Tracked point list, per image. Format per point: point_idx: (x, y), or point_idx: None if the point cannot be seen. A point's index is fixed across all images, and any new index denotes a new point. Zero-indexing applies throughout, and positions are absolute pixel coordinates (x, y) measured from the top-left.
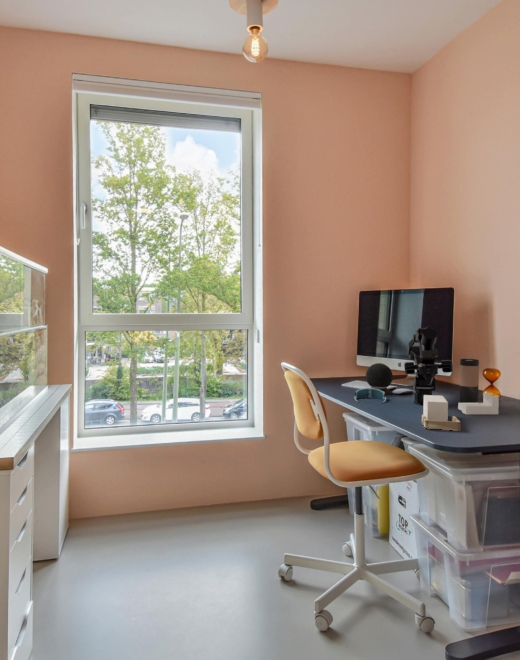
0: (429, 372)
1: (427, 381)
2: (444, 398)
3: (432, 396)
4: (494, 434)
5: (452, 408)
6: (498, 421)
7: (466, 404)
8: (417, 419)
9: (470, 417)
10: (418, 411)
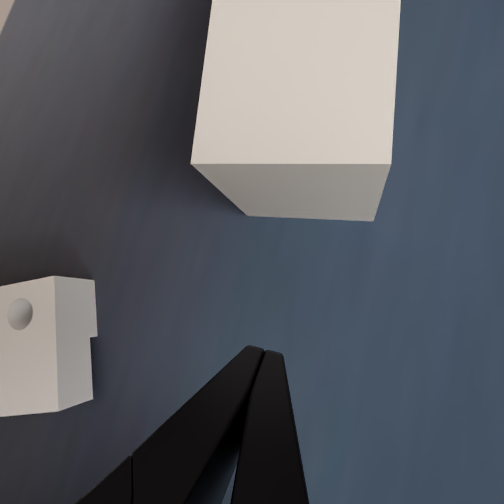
0: None
1: (284, 389)
2: (211, 18)
3: (304, 91)
4: None
5: None
6: (10, 133)
7: (30, 342)
8: (444, 52)
9: (100, 195)
10: (393, 331)
